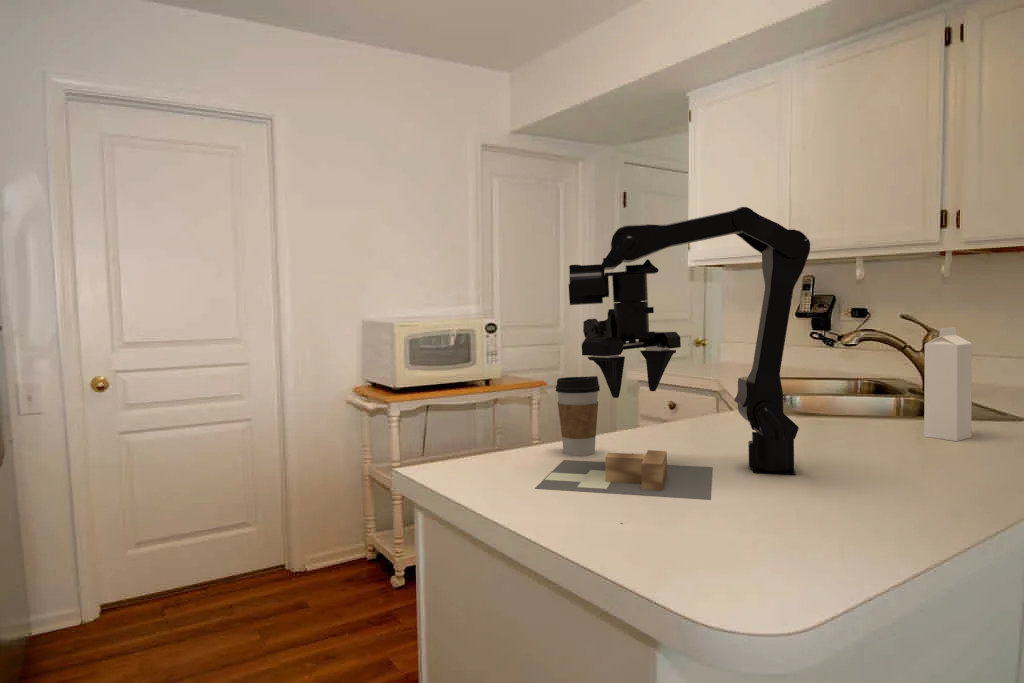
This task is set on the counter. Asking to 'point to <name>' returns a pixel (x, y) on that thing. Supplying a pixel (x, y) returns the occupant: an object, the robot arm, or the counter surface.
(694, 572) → the counter surface
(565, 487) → the mat
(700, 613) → the counter surface
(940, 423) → the milk
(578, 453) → the coffee cup
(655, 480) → the t block
